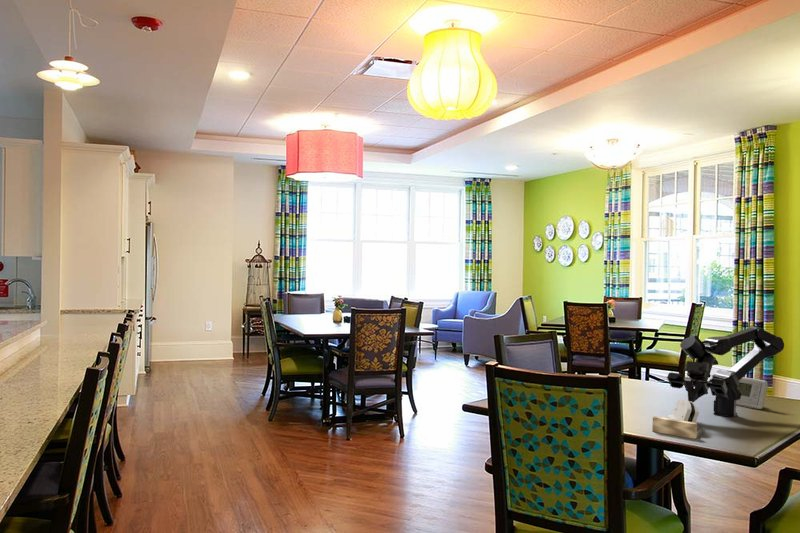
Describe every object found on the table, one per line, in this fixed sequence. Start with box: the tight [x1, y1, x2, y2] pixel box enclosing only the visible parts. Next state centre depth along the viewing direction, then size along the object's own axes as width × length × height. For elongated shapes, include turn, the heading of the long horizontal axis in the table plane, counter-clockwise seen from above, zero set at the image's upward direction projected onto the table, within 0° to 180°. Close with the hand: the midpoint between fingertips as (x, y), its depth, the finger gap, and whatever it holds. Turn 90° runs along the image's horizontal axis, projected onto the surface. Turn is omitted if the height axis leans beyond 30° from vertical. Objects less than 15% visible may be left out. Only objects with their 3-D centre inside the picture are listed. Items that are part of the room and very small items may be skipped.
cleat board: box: [651, 415, 703, 440], centre depth 213 cm, size 13×8×4 cm, turn 51°
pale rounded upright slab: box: [666, 398, 700, 423], centre depth 221 cm, size 17×5×10 cm, turn 168°
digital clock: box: [736, 376, 769, 410], centre depth 255 cm, size 16×9×11 cm, turn 22°
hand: (689, 403), depth 226 cm, fingers closed
